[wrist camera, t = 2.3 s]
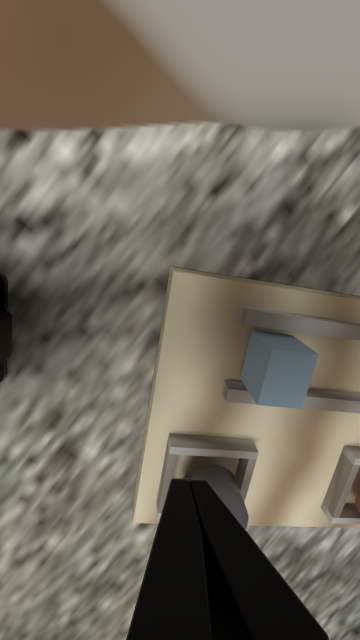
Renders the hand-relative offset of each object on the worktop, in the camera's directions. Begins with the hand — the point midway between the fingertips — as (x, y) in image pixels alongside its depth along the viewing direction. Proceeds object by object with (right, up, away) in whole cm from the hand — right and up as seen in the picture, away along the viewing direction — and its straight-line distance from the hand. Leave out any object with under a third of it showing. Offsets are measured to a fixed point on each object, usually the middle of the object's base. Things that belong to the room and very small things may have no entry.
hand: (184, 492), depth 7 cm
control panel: (+8, -2, +14) cm, 16 cm away
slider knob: (+5, +2, +10) cm, 11 cm away
